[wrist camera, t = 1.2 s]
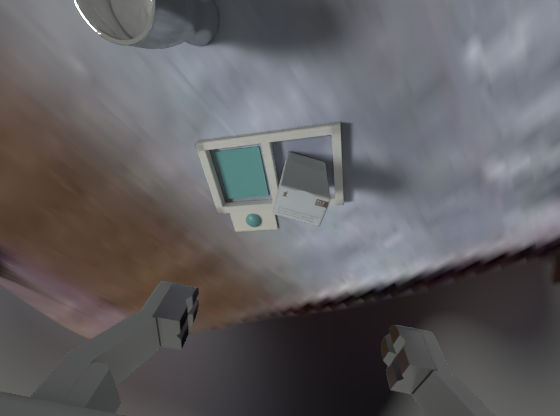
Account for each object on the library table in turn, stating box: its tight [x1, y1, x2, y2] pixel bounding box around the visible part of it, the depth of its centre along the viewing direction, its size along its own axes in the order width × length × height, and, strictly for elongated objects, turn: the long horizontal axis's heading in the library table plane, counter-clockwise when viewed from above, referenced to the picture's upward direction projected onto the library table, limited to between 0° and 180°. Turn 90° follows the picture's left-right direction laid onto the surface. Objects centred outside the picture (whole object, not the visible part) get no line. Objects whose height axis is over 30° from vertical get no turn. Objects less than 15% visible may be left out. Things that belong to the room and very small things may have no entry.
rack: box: [195, 122, 344, 231], centre depth 41 cm, size 21×17×2 cm
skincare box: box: [273, 152, 331, 226], centre depth 34 cm, size 6×4×12 cm
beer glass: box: [74, 0, 219, 49], centre depth 25 cm, size 7×7×15 cm
